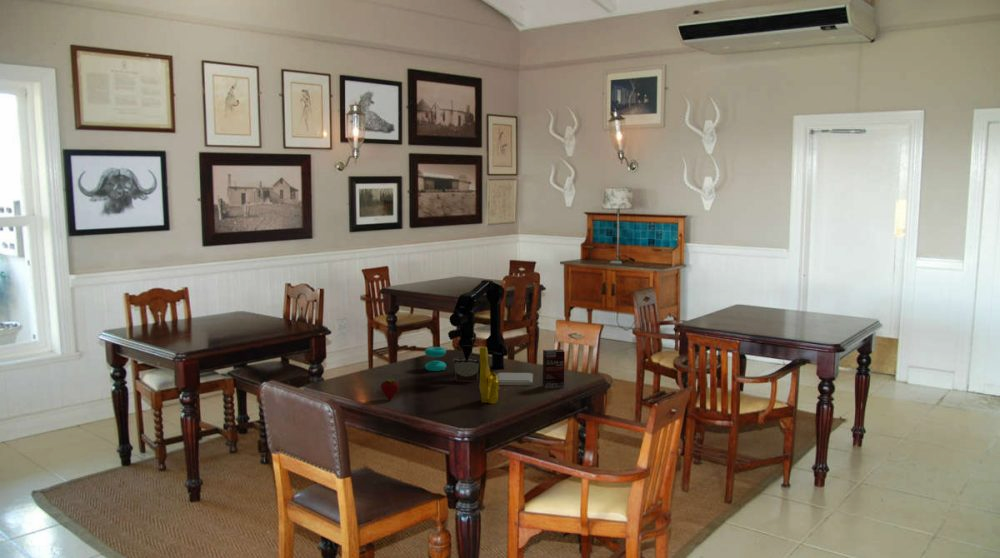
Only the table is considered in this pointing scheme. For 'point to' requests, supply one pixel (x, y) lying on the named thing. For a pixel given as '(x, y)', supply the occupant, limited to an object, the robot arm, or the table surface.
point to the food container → (466, 369)
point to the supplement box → (553, 368)
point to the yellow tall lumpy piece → (487, 379)
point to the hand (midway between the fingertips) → (467, 357)
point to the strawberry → (390, 388)
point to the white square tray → (515, 378)
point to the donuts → (435, 353)
